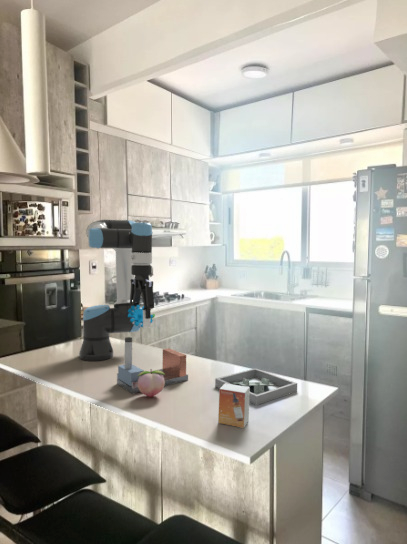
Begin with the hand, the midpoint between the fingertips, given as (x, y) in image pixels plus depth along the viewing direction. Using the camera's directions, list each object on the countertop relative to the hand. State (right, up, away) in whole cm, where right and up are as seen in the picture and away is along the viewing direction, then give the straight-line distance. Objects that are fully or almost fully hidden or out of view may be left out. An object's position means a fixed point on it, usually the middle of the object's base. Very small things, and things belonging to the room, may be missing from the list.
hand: (141, 325), depth 148 cm
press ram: (-3, -20, -5) cm, 20 cm away
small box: (+32, -25, -31) cm, 51 cm away
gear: (0, 0, 0) cm, 0 cm away
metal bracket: (+42, -23, -4) cm, 48 cm away
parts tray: (+42, -23, -4) cm, 48 cm away
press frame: (+4, -22, +2) cm, 22 cm away
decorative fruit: (+5, -23, -13) cm, 27 cm away
